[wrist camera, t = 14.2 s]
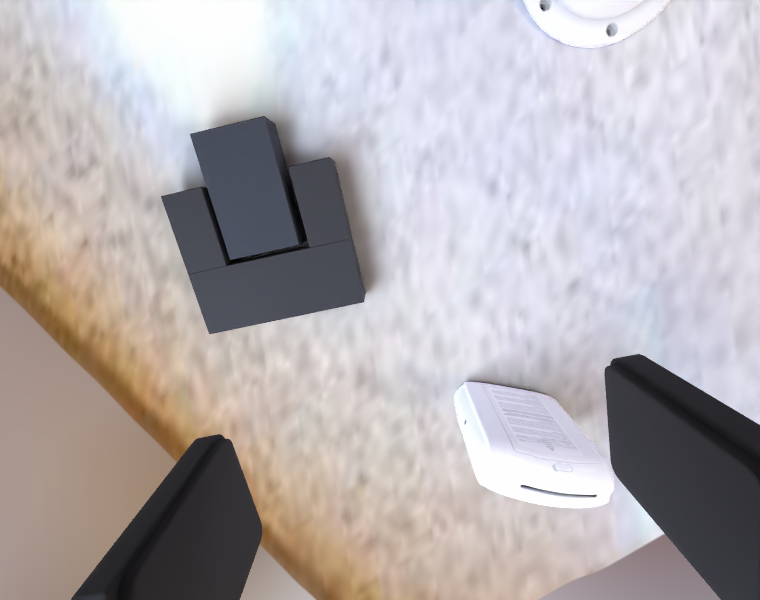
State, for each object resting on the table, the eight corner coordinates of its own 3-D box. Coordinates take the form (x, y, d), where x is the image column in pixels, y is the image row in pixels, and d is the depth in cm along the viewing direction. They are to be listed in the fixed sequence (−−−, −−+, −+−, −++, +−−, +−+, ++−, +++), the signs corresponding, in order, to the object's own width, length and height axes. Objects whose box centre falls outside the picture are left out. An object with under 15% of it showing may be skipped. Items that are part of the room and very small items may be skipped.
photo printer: (447, 413, 39) (477, 509, 27) (457, 375, 37) (492, 458, 26) (545, 429, 39) (617, 531, 27) (557, 392, 38) (638, 481, 26)
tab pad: (206, 139, 32) (189, 133, 29) (275, 123, 32) (264, 115, 29) (242, 255, 34) (229, 260, 32) (306, 241, 34) (299, 244, 31)
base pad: (180, 196, 33) (160, 196, 30) (334, 160, 32) (329, 157, 29) (223, 323, 36) (209, 334, 33) (365, 293, 35) (364, 302, 32)
